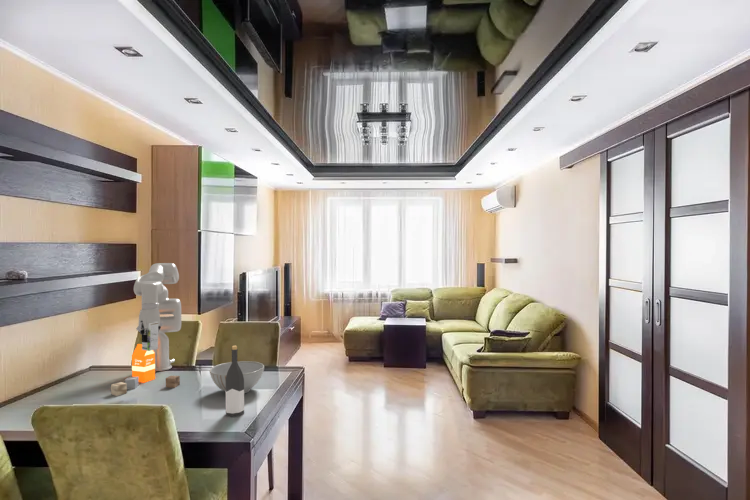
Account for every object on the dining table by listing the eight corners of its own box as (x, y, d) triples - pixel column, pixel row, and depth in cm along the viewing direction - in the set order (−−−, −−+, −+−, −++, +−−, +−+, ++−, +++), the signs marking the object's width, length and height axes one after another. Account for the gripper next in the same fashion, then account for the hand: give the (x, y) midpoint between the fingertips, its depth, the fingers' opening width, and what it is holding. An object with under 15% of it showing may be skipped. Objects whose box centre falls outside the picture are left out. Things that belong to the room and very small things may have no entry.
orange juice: (144, 382, 244) (143, 346, 244) (131, 381, 247) (131, 345, 247) (155, 378, 252) (155, 343, 251) (143, 377, 254) (143, 342, 254)
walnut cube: (170, 384, 241) (170, 375, 241) (179, 385, 240) (179, 375, 240) (165, 387, 236) (165, 378, 236) (174, 387, 235) (174, 378, 235)
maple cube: (121, 391, 229) (121, 382, 229) (126, 393, 227) (126, 383, 227) (111, 394, 225) (111, 384, 225) (116, 396, 222) (116, 386, 222)
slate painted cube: (128, 386, 238) (128, 376, 238) (138, 385, 239) (138, 376, 239) (124, 389, 233) (124, 379, 233) (134, 388, 234) (134, 379, 234)
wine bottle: (246, 410, 202) (246, 343, 202) (241, 416, 194) (241, 347, 194) (228, 410, 202) (227, 344, 202) (223, 417, 194) (222, 348, 194)
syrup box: (141, 350, 232) (141, 322, 231) (151, 347, 237) (151, 320, 237) (148, 351, 229) (148, 323, 229) (158, 348, 234) (158, 321, 234)
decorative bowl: (207, 402, 212) (207, 377, 212) (212, 385, 238) (211, 363, 238) (265, 397, 220) (265, 372, 220) (263, 381, 245) (263, 359, 245)
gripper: (157, 304, 242) (158, 337, 242) (130, 308, 226) (130, 343, 226) (168, 304, 239) (168, 338, 240) (141, 309, 223) (141, 344, 223)
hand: (150, 340), depth 233 cm, fingers closed on syrup box, 6 cm apart
